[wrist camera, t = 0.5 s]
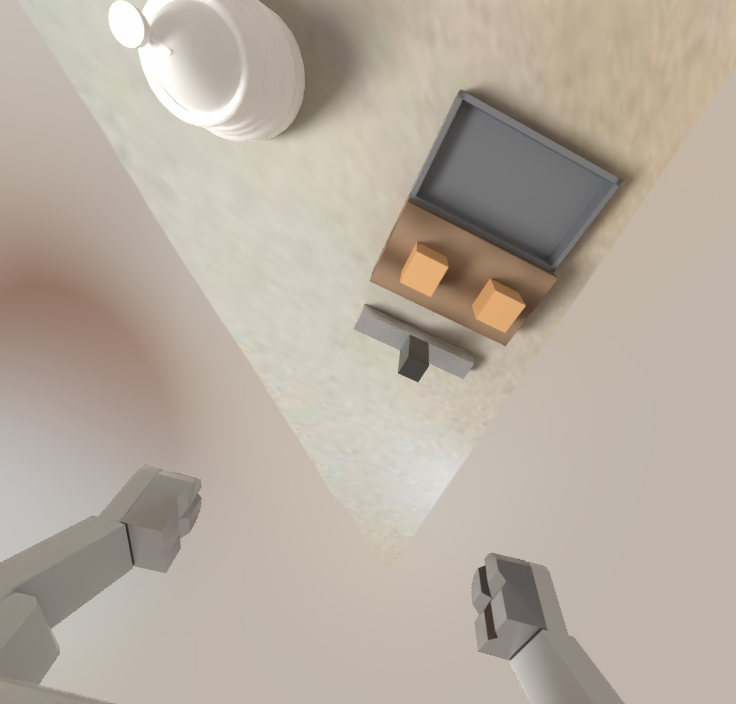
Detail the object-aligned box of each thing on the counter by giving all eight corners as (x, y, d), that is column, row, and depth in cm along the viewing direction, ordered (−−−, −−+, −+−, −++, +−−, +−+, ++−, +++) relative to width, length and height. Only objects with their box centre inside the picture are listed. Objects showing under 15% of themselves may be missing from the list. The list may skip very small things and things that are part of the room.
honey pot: (176, 86, 44) (44, 64, 28) (226, -36, 38) (92, -147, 22) (268, 164, 47) (193, 183, 32) (327, 63, 41) (271, 26, 26)
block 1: (416, 241, 44) (416, 251, 41) (446, 256, 45) (448, 267, 42) (401, 270, 47) (399, 282, 43) (430, 284, 47) (430, 297, 44)
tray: (458, 91, 41) (460, 89, 38) (611, 177, 43) (623, 180, 40) (409, 194, 47) (408, 198, 44) (546, 265, 49) (553, 272, 46)
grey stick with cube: (364, 303, 55) (355, 332, 48) (471, 353, 57) (479, 388, 50) (356, 319, 57) (346, 350, 49) (461, 367, 59) (467, 404, 51)
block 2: (490, 278, 46) (495, 290, 42) (518, 292, 46) (526, 305, 43) (472, 305, 48) (475, 318, 44) (499, 318, 48) (505, 333, 45)
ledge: (409, 194, 47) (407, 201, 42) (546, 265, 49) (558, 278, 45) (374, 268, 52) (369, 281, 48) (498, 328, 54) (505, 345, 50)
